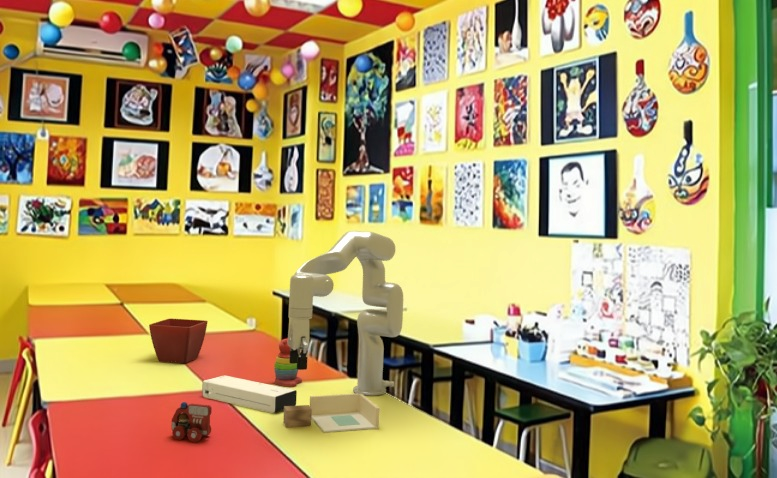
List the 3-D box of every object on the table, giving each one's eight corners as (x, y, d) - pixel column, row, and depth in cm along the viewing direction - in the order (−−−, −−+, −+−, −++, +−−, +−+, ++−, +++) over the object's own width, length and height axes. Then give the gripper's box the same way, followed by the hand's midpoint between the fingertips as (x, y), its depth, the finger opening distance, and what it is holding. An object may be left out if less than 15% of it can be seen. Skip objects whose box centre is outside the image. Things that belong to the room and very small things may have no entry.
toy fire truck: (179, 431, 204) (180, 397, 204) (216, 437, 200) (217, 402, 200) (165, 438, 197) (166, 403, 197) (203, 444, 194) (204, 408, 193)
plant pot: (146, 362, 292) (147, 324, 291) (168, 354, 311) (169, 317, 310) (188, 366, 289) (189, 327, 288) (207, 357, 308) (208, 320, 307)
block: (308, 421, 219) (308, 405, 219) (311, 426, 214) (311, 409, 214) (283, 423, 216) (284, 406, 216) (285, 428, 212) (286, 410, 211)
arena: (360, 412, 231) (361, 393, 231) (378, 428, 215) (379, 407, 214) (309, 415, 225) (310, 396, 225) (323, 432, 208) (324, 411, 208)
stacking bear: (294, 387, 260) (295, 341, 260) (269, 385, 262) (271, 339, 262) (303, 381, 271) (305, 337, 270) (279, 379, 273) (281, 335, 272)
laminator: (296, 407, 235) (296, 390, 235) (273, 415, 225) (273, 397, 224) (224, 391, 252) (224, 375, 252) (199, 398, 242) (200, 381, 242)
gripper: (282, 309, 224) (280, 361, 224) (295, 317, 208) (292, 372, 208) (304, 309, 226) (302, 360, 227) (319, 317, 210) (316, 371, 211)
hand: (297, 366), depth 217 cm, fingers open, 9 cm apart
